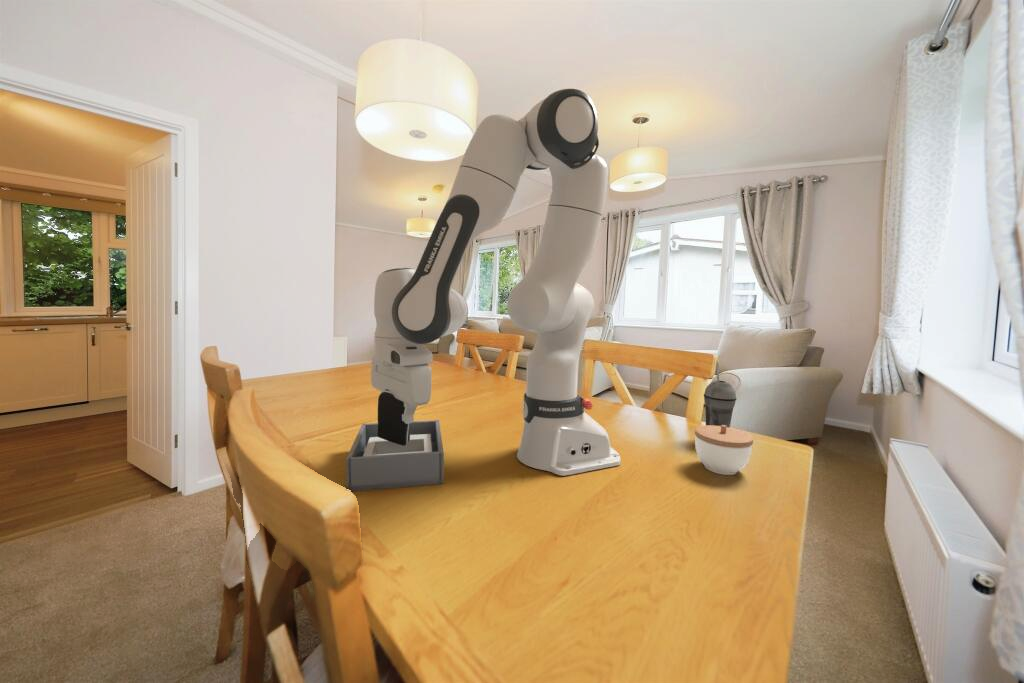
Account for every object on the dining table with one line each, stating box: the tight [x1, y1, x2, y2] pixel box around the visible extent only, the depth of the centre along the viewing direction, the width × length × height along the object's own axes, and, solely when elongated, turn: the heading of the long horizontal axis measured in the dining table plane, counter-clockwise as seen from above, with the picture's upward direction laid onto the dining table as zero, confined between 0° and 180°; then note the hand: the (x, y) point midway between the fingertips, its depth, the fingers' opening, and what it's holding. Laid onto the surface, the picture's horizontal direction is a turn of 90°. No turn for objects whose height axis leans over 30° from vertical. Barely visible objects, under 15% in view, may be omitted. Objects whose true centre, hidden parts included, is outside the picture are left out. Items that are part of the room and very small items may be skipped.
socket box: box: [345, 419, 445, 492], centre depth 81 cm, size 17×20×6 cm
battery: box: [377, 389, 410, 446], centre depth 80 cm, size 7×4×11 cm, turn 78°
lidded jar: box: [694, 424, 754, 476], centre depth 82 cm, size 11×11×9 cm
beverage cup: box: [703, 362, 738, 428], centre depth 97 cm, size 7×7×20 cm
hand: (398, 417), depth 80 cm, fingers closed on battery, 7 cm apart
